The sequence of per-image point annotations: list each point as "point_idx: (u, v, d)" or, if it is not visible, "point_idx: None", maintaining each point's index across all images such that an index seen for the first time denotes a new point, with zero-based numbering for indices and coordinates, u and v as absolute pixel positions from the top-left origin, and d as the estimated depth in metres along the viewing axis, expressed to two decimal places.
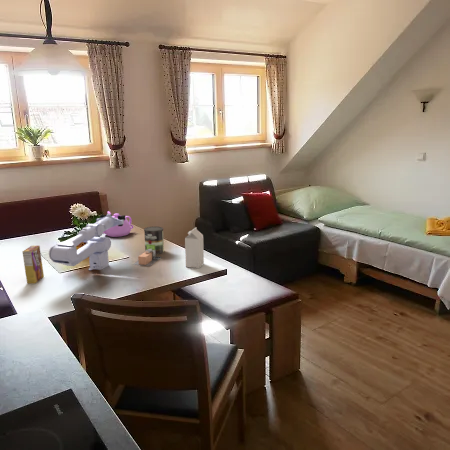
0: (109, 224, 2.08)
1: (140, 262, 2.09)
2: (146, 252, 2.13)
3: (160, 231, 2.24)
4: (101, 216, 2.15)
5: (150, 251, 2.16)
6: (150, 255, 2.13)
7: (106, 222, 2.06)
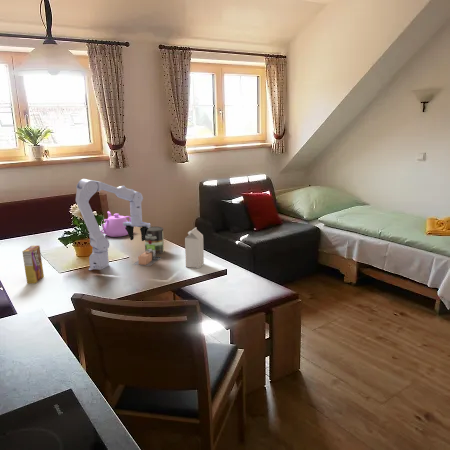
0: (141, 214, 2.14)
1: (140, 262, 2.09)
2: (146, 252, 2.13)
3: (160, 231, 2.24)
4: None
5: (150, 251, 2.16)
6: (150, 255, 2.13)
7: (141, 211, 2.14)
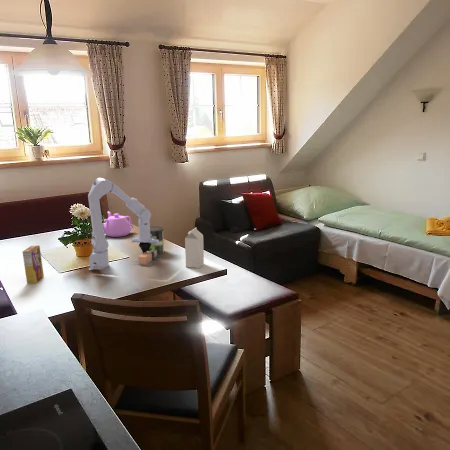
0: (149, 231, 2.15)
1: (140, 262, 2.09)
2: (147, 252, 2.13)
3: (160, 231, 2.24)
4: None
5: (151, 251, 2.15)
6: (150, 255, 2.13)
7: (149, 228, 2.14)
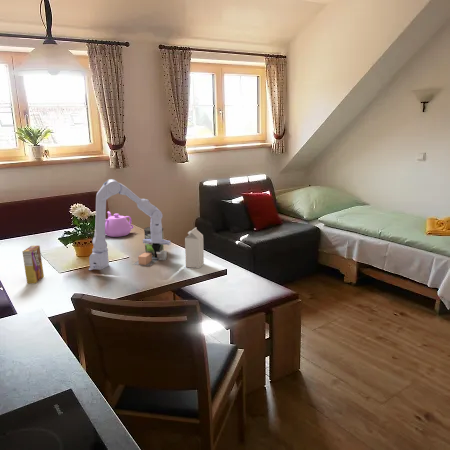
0: (161, 232, 2.14)
1: (140, 262, 2.09)
2: (157, 253, 2.12)
3: None
4: None
5: (161, 252, 2.14)
6: (150, 255, 2.13)
7: (160, 229, 2.12)
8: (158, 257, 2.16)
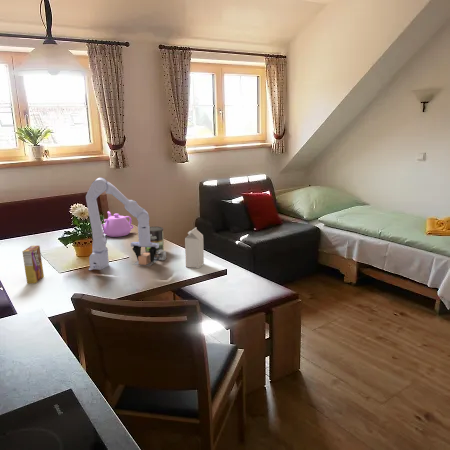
0: (149, 235, 2.08)
1: (140, 262, 2.09)
2: (157, 253, 2.12)
3: (160, 231, 2.24)
4: None
5: (161, 252, 2.14)
6: None
7: (147, 232, 2.07)
8: (158, 257, 2.16)
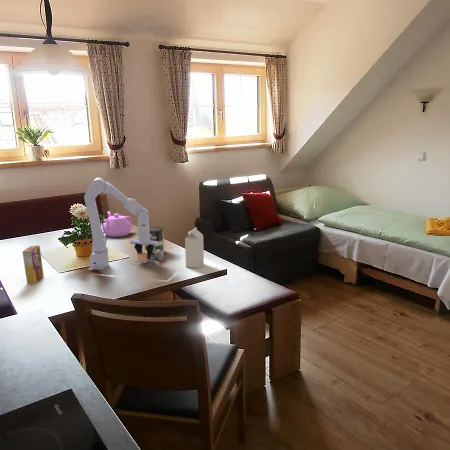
0: (149, 232, 2.08)
1: (140, 260, 2.09)
2: (154, 253, 2.12)
3: (160, 231, 2.24)
4: None
5: (158, 252, 2.14)
6: None
7: (147, 230, 2.07)
8: (155, 257, 2.16)
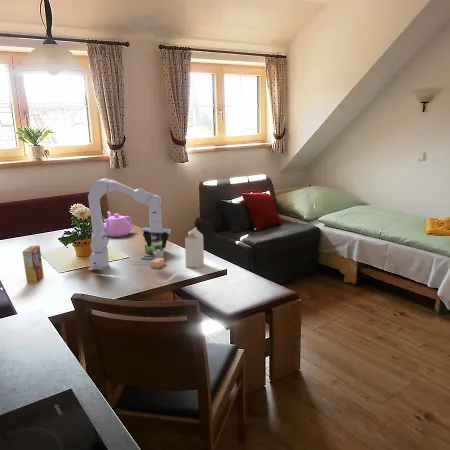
0: (161, 220, 2.02)
1: (152, 267, 2.05)
2: (154, 253, 2.12)
3: None
4: None
5: (158, 252, 2.14)
6: (163, 260, 2.09)
7: (158, 217, 2.00)
8: (155, 257, 2.16)
